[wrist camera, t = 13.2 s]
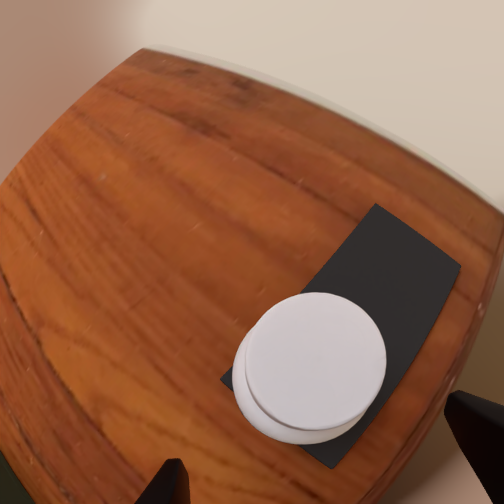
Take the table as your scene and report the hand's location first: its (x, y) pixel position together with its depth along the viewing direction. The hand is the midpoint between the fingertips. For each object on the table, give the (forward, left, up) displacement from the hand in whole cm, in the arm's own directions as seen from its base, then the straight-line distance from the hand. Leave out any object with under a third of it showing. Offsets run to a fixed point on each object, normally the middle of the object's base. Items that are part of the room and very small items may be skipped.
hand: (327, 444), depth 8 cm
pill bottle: (+2, -2, -7) cm, 8 cm away
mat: (0, -8, -8) cm, 11 cm away
